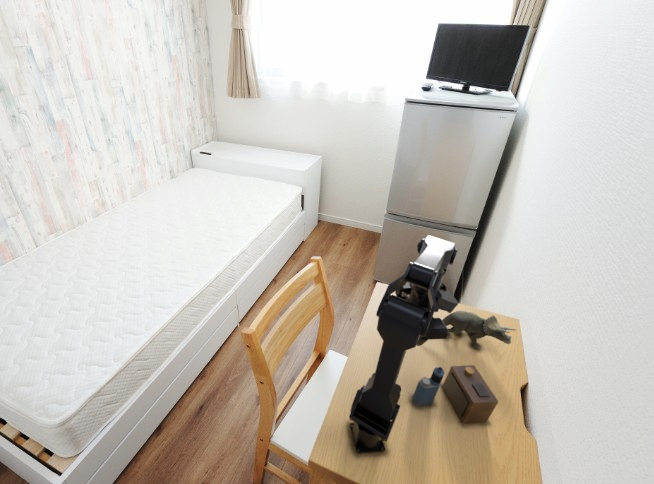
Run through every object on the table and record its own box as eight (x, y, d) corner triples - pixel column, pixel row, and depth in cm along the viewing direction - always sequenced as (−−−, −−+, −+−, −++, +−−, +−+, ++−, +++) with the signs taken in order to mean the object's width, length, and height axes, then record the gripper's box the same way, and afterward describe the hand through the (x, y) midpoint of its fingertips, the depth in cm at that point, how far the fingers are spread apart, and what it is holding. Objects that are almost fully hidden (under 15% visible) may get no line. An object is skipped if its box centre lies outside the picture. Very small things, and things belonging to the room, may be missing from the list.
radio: (461, 423, 82) (473, 400, 77) (441, 386, 90) (451, 363, 86) (486, 422, 82) (499, 399, 78) (464, 385, 91) (475, 362, 87)
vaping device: (434, 404, 86) (448, 372, 80) (415, 407, 85) (427, 375, 79) (429, 395, 88) (442, 363, 82) (410, 397, 87) (421, 366, 81)
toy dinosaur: (421, 333, 106) (431, 305, 101) (425, 316, 113) (434, 289, 107) (501, 362, 98) (517, 334, 92) (501, 342, 104) (515, 314, 99)
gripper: (481, 311, 75) (459, 359, 83) (440, 261, 91) (425, 306, 99) (432, 312, 74) (414, 361, 82) (399, 262, 90) (387, 307, 98)
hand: (411, 331), depth 90 cm, fingers open, 9 cm apart
